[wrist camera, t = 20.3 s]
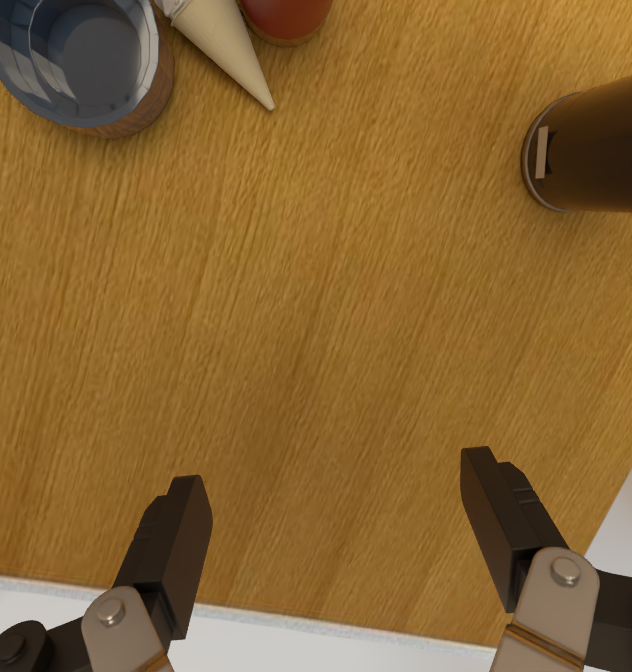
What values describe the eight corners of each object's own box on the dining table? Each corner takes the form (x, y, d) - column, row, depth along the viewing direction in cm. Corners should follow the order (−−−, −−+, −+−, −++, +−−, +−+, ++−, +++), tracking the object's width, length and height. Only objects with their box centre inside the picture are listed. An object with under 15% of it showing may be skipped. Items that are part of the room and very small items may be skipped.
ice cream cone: (277, 98, 37) (139, -111, 30) (310, 79, 33) (158, -171, 25) (237, 136, 36) (80, -74, 28) (266, 120, 31) (91, -131, 24)
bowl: (151, -35, 31) (129, -83, 26) (191, 124, 35) (178, 110, 29) (0, -10, 31) (-54, -53, 26) (55, 151, 34) (17, 141, 29)
